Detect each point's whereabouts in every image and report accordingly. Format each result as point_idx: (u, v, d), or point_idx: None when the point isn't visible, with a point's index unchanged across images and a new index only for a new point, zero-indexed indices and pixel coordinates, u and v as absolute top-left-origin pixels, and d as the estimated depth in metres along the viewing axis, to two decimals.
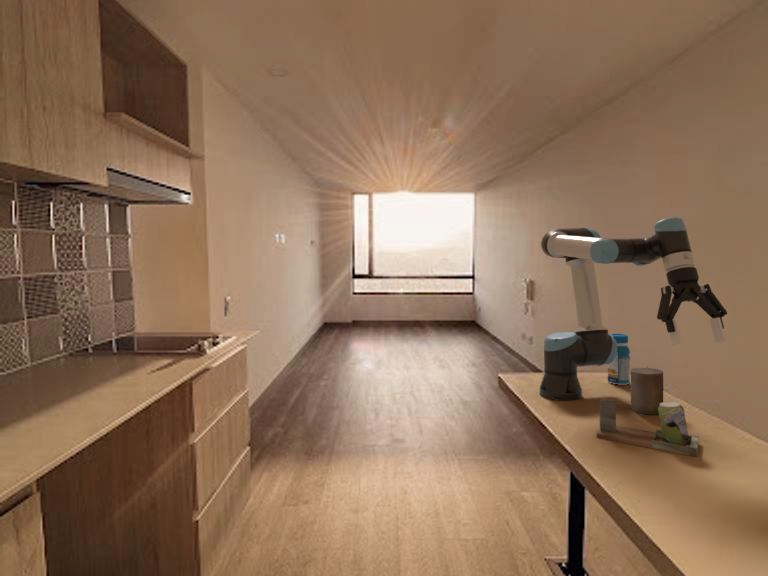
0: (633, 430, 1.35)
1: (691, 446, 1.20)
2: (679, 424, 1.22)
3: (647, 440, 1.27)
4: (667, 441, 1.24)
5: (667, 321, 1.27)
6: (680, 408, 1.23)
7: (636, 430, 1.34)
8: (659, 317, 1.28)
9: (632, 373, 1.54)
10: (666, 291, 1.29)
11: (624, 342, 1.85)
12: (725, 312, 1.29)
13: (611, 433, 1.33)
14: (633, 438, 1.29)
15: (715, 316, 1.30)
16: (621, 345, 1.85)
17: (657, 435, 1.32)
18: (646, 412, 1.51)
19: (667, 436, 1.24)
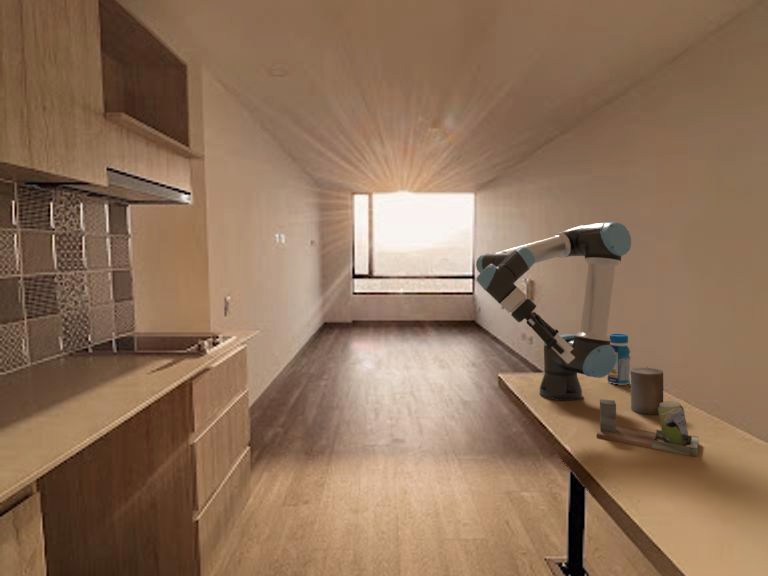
0: (633, 430, 1.35)
1: (691, 446, 1.20)
2: (679, 424, 1.22)
3: (647, 440, 1.27)
4: (667, 441, 1.24)
5: None
6: (680, 408, 1.23)
7: (636, 430, 1.34)
8: None
9: (632, 373, 1.54)
10: None
11: (624, 342, 1.85)
12: None
13: (611, 433, 1.33)
14: (633, 438, 1.29)
15: None
16: (621, 345, 1.85)
17: (657, 435, 1.32)
18: (646, 412, 1.51)
19: (667, 436, 1.24)
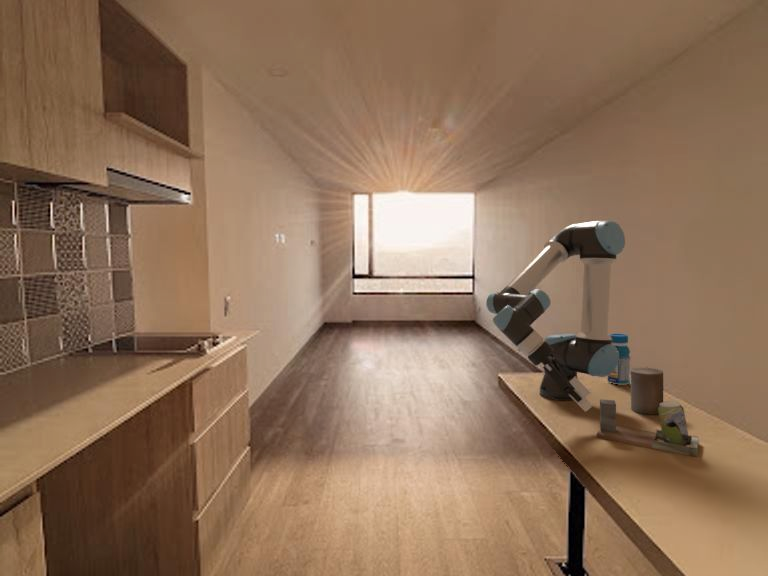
0: (633, 430, 1.35)
1: (691, 446, 1.20)
2: (679, 424, 1.22)
3: (647, 440, 1.27)
4: (667, 441, 1.24)
5: None
6: (680, 408, 1.23)
7: (636, 430, 1.34)
8: None
9: (632, 373, 1.54)
10: None
11: (624, 342, 1.85)
12: None
13: (611, 433, 1.33)
14: (633, 438, 1.29)
15: None
16: (621, 345, 1.85)
17: (657, 435, 1.32)
18: (646, 412, 1.51)
19: (667, 436, 1.24)
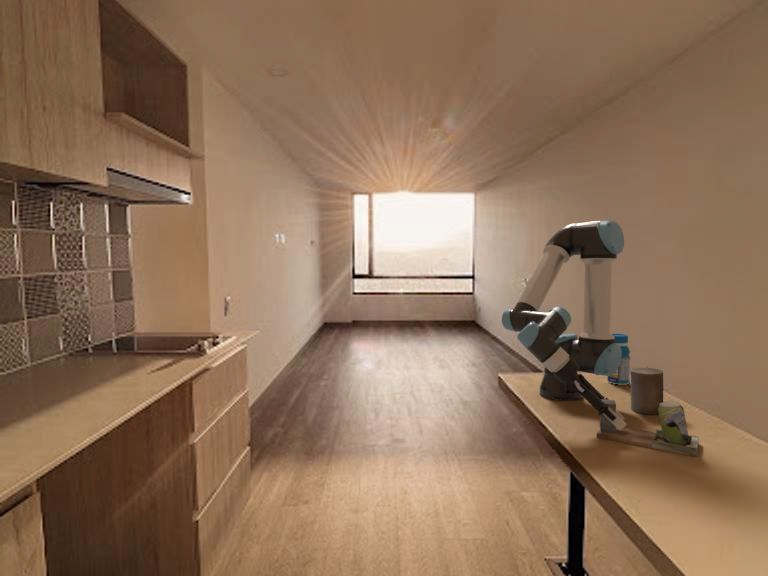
0: (633, 430, 1.35)
1: (691, 446, 1.20)
2: (679, 424, 1.22)
3: (647, 440, 1.27)
4: (667, 441, 1.24)
5: None
6: (680, 408, 1.23)
7: (636, 430, 1.34)
8: None
9: (632, 373, 1.54)
10: None
11: (624, 342, 1.85)
12: None
13: (611, 433, 1.33)
14: (633, 438, 1.29)
15: None
16: (621, 345, 1.85)
17: (657, 435, 1.32)
18: (646, 412, 1.51)
19: (667, 436, 1.24)
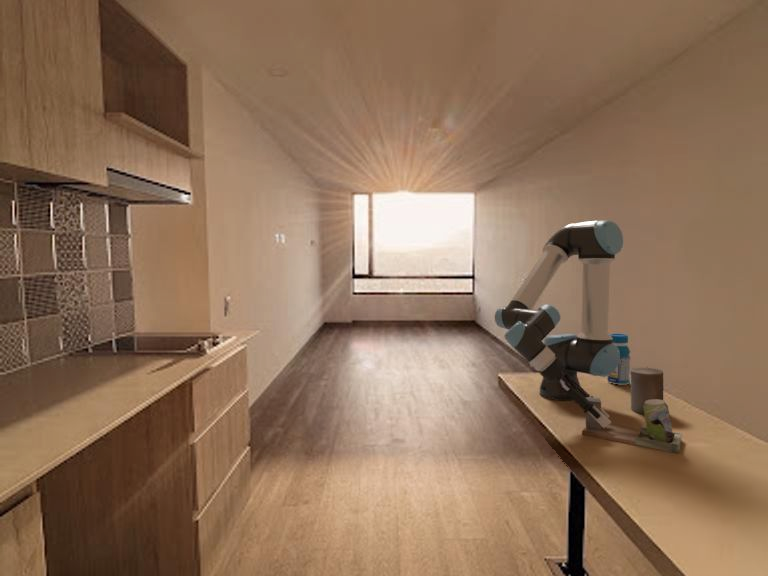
0: (618, 427, 1.37)
1: (673, 443, 1.22)
2: (664, 421, 1.25)
3: (631, 437, 1.30)
4: (652, 438, 1.27)
5: None
6: (664, 406, 1.25)
7: (621, 427, 1.37)
8: None
9: (632, 373, 1.54)
10: None
11: (624, 342, 1.85)
12: None
13: (597, 430, 1.35)
14: (617, 435, 1.31)
15: None
16: (621, 345, 1.85)
17: (641, 432, 1.34)
18: None
19: (651, 434, 1.26)
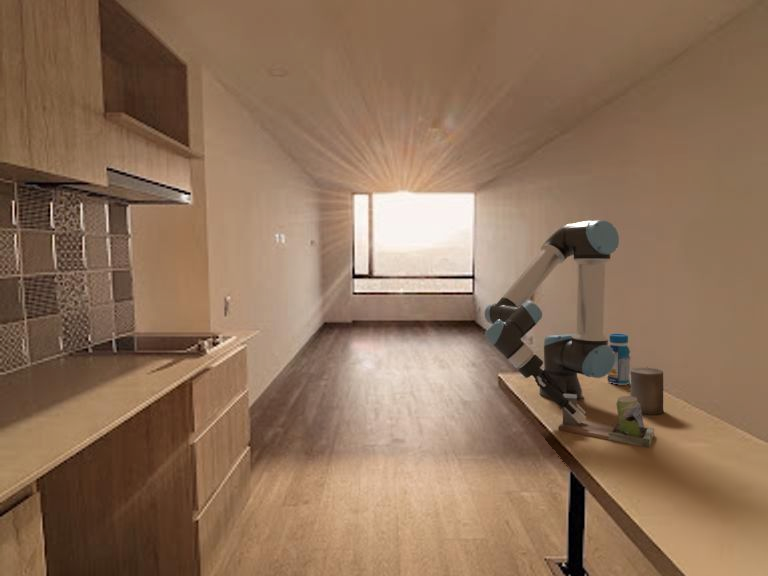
0: (594, 423, 1.41)
1: (644, 437, 1.26)
2: (637, 417, 1.28)
3: (605, 432, 1.34)
4: None
5: None
6: (637, 402, 1.29)
7: (597, 423, 1.41)
8: None
9: (632, 373, 1.54)
10: None
11: (624, 342, 1.85)
12: None
13: (573, 425, 1.40)
14: (592, 431, 1.35)
15: None
16: (621, 345, 1.85)
17: (616, 428, 1.38)
18: (646, 412, 1.51)
19: (626, 430, 1.29)
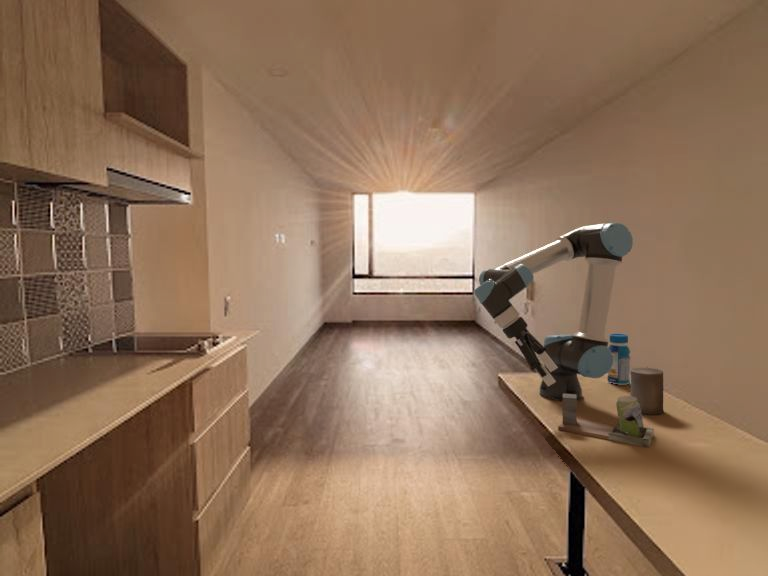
0: (593, 423, 1.41)
1: (644, 437, 1.26)
2: (637, 417, 1.28)
3: (605, 432, 1.34)
4: None
5: None
6: (637, 402, 1.29)
7: (596, 423, 1.41)
8: None
9: (632, 373, 1.54)
10: None
11: (624, 342, 1.85)
12: None
13: (572, 425, 1.40)
14: (592, 431, 1.35)
15: None
16: (621, 345, 1.85)
17: (615, 428, 1.38)
18: (646, 412, 1.51)
19: (626, 430, 1.29)
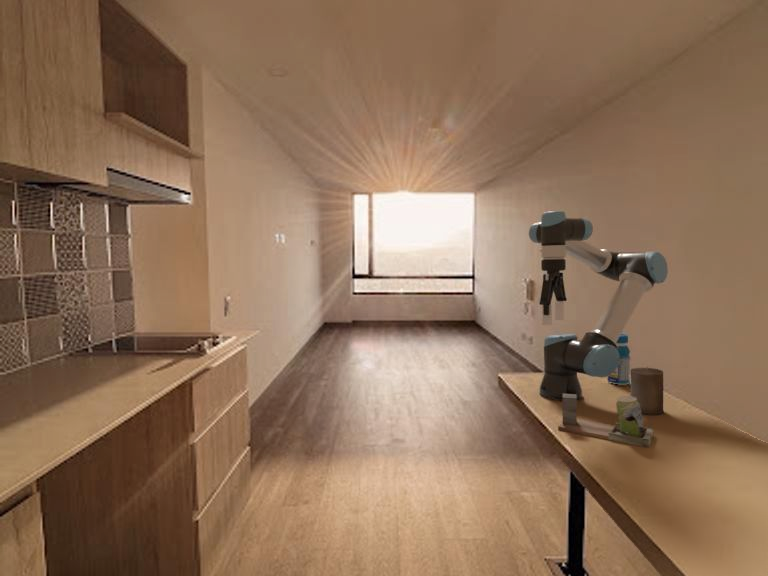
0: (593, 423, 1.41)
1: (644, 437, 1.26)
2: (637, 417, 1.28)
3: (605, 432, 1.34)
4: None
5: None
6: (637, 402, 1.29)
7: (596, 423, 1.41)
8: None
9: (632, 373, 1.54)
10: None
11: (624, 342, 1.85)
12: None
13: (572, 425, 1.40)
14: (592, 431, 1.35)
15: None
16: (621, 345, 1.85)
17: (615, 428, 1.38)
18: (646, 412, 1.51)
19: (626, 430, 1.29)
